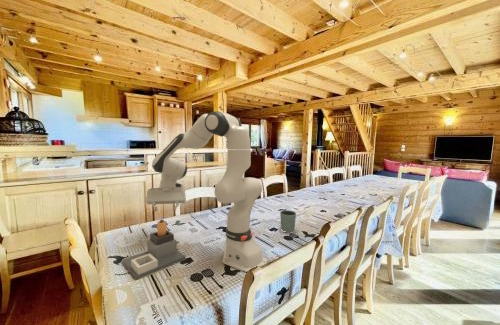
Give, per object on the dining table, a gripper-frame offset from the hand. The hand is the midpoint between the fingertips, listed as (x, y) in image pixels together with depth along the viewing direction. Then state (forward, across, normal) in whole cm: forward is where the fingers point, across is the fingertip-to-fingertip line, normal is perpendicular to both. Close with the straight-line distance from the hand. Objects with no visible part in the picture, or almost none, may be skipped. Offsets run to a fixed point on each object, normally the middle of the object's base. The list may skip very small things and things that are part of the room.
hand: (165, 210), depth 112 cm
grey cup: (+7, +73, +21) cm, 77 cm away
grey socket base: (+24, -2, +4) cm, 24 cm away
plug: (+15, 0, +2) cm, 15 cm away
